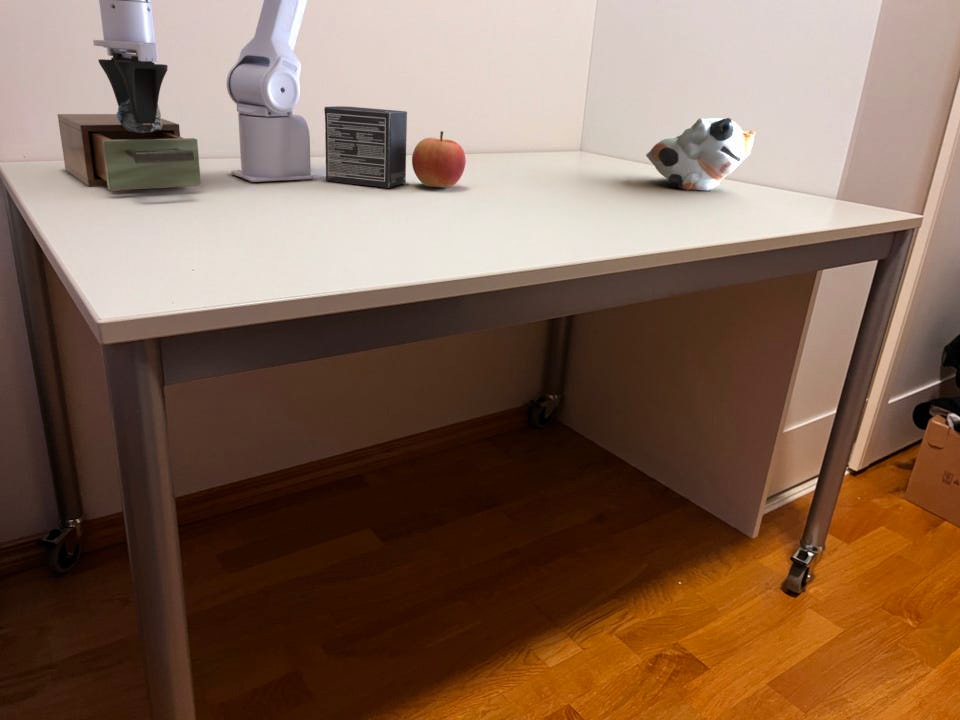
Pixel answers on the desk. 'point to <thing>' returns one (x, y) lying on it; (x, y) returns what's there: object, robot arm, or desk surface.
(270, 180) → the robot arm
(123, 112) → the wristwatch
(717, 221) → the desk surface
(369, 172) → the small box
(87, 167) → the cabinet
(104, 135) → the drawer
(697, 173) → the lucky cat figurine
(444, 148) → the apple
